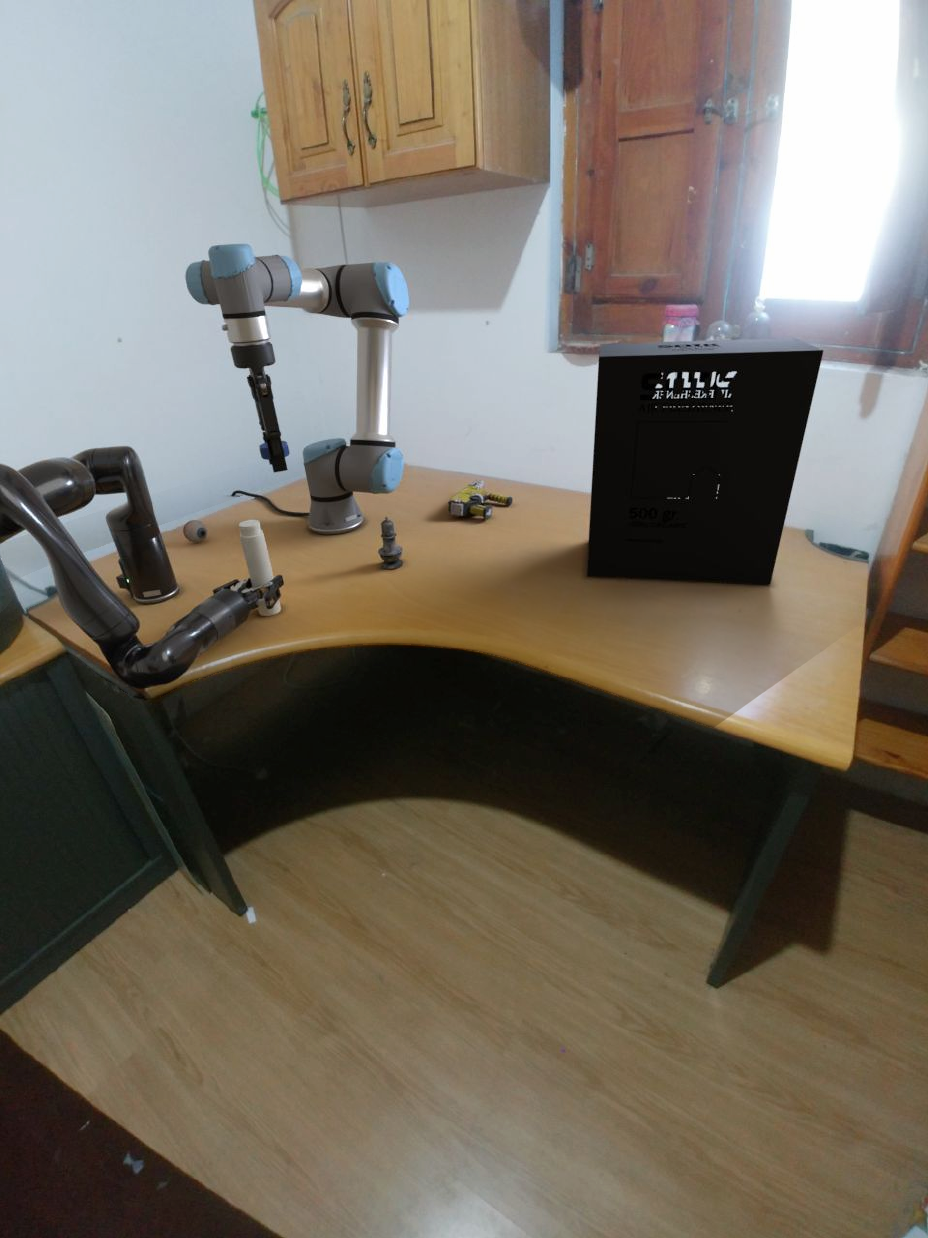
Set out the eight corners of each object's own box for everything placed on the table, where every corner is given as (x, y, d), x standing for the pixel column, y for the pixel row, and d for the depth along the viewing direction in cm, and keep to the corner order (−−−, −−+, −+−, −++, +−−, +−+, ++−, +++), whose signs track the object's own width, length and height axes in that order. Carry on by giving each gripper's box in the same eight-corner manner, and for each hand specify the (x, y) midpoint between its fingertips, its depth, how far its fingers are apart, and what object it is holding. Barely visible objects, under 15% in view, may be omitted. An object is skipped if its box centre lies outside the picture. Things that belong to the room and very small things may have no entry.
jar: (285, 609, 128) (265, 521, 118) (267, 618, 125) (245, 529, 115) (272, 603, 130) (252, 517, 120) (254, 612, 127) (232, 524, 117)
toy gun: (520, 484, 182) (474, 477, 186) (498, 508, 162) (446, 499, 166) (519, 500, 184) (473, 492, 188) (497, 524, 164) (445, 516, 168)
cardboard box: (751, 546, 143) (793, 337, 120) (770, 584, 126) (823, 350, 103) (589, 540, 150) (600, 343, 128) (586, 576, 133) (598, 356, 111)
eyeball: (196, 547, 160) (190, 526, 157) (181, 543, 163) (175, 522, 160) (215, 539, 164) (209, 518, 161) (200, 536, 167) (194, 515, 164)
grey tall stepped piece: (400, 569, 141) (394, 521, 135) (376, 568, 143) (369, 520, 137) (407, 559, 146) (402, 512, 140) (384, 558, 147) (378, 511, 141)
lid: (261, 454, 123) (258, 442, 122) (289, 450, 125) (286, 439, 123) (261, 461, 119) (259, 449, 117) (290, 457, 120) (288, 445, 119)
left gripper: (244, 603, 109) (297, 564, 122) (181, 595, 113) (238, 558, 127) (254, 639, 112) (303, 597, 126) (192, 629, 117) (247, 589, 130)
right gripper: (225, 340, 117) (254, 458, 129) (233, 350, 102) (265, 482, 114) (265, 336, 119) (290, 453, 131) (278, 345, 105) (304, 475, 117)
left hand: (270, 577), depth 126 cm, fingers closed on jar, 4 cm apart
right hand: (278, 466), depth 123 cm, fingers closed on lid, 5 cm apart
